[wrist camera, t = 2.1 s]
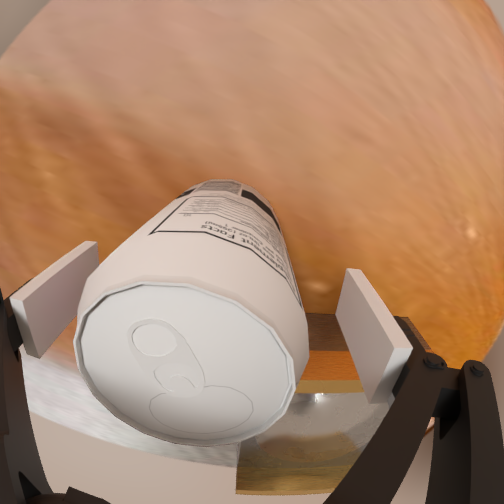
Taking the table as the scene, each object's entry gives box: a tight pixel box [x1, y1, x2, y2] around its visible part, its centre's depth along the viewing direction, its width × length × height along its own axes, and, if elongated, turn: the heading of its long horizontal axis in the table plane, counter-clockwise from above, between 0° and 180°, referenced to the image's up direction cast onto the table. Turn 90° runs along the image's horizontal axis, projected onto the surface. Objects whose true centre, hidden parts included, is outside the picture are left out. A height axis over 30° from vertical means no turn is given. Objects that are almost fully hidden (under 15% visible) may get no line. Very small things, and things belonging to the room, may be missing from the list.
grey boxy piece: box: [236, 313, 434, 495], centre depth 24 cm, size 14×18×8 cm
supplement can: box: [73, 179, 309, 447], centre depth 15 cm, size 8×8×15 cm
